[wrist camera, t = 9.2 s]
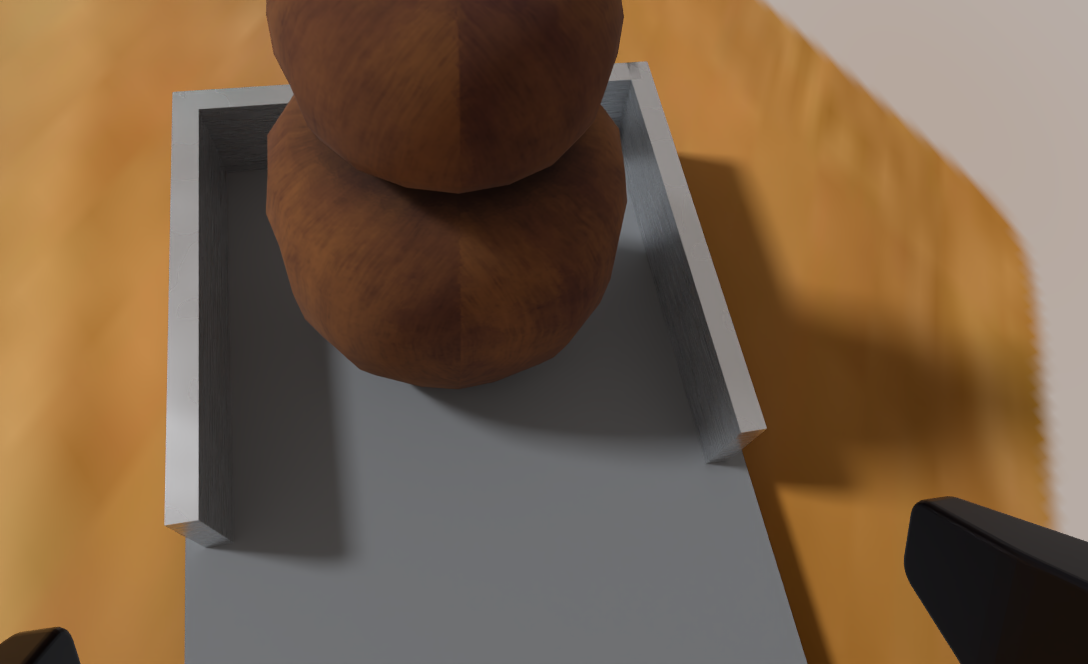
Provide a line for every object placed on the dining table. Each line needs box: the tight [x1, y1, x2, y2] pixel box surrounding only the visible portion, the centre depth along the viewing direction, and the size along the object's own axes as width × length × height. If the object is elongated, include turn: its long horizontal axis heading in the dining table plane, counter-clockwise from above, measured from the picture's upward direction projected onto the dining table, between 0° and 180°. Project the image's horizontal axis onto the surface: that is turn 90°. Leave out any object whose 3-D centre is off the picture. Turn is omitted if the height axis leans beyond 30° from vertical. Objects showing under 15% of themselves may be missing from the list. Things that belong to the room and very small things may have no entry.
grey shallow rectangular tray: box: [165, 62, 807, 664], centre depth 18 cm, size 17×13×4 cm
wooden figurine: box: [266, 0, 627, 389], centre depth 12 cm, size 7×6×15 cm
